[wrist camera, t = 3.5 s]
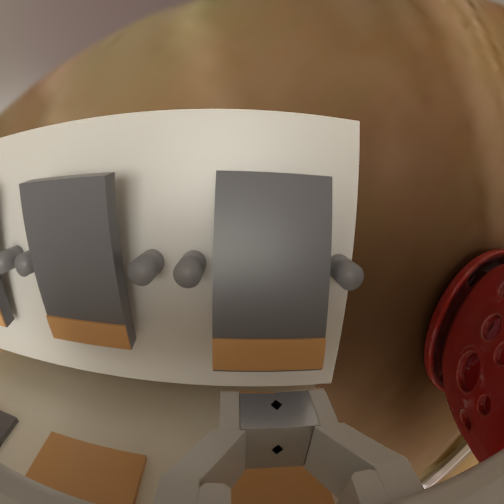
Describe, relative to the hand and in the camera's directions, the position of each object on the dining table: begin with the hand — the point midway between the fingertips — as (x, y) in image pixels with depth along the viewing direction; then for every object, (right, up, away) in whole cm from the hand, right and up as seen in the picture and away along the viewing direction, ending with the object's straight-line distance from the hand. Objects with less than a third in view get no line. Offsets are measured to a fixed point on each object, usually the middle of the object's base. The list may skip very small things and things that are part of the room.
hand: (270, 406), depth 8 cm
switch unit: (-8, +4, +8) cm, 11 cm away
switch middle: (-7, +4, +2) cm, 9 cm away
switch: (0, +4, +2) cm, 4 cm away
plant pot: (+16, 0, +10) cm, 19 cm away
